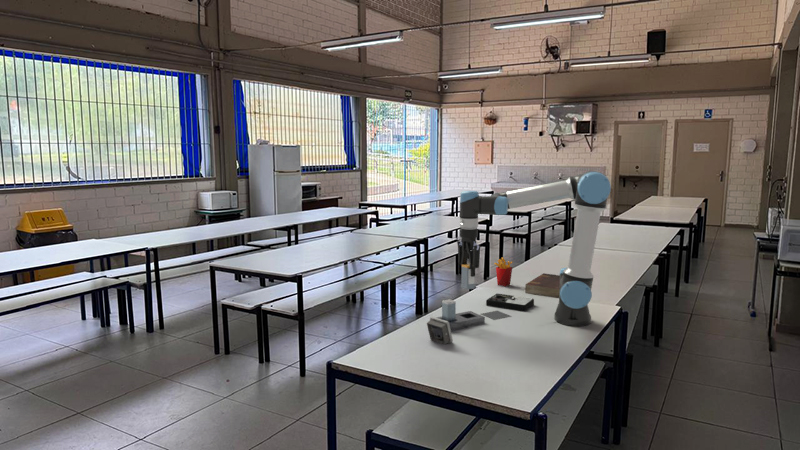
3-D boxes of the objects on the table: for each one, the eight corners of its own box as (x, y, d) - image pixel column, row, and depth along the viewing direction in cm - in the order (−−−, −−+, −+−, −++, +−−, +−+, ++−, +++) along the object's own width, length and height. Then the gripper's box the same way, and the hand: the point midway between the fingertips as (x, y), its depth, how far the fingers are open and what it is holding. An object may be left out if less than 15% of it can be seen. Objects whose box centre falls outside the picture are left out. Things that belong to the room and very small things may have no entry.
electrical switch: (453, 342, 206) (451, 320, 204) (444, 347, 202) (442, 324, 200) (435, 337, 212) (433, 314, 210) (426, 341, 209) (424, 319, 207)
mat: (512, 317, 236) (512, 316, 236) (494, 320, 231) (494, 319, 231) (497, 311, 245) (497, 310, 245) (479, 314, 240) (479, 313, 240)
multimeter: (496, 300, 264) (496, 290, 263) (534, 306, 254) (534, 295, 253) (485, 307, 253) (485, 296, 252) (525, 313, 243) (525, 302, 242)
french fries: (512, 284, 292) (513, 257, 290) (504, 287, 286) (504, 260, 284) (498, 282, 298) (499, 255, 296) (490, 285, 292) (490, 258, 290)
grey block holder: (484, 323, 227) (484, 298, 226) (445, 331, 218) (445, 305, 216) (470, 317, 236) (470, 293, 234) (432, 325, 226) (432, 299, 225)
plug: (474, 288, 226) (475, 265, 225) (467, 289, 225) (467, 266, 223) (469, 286, 230) (469, 263, 228) (461, 287, 228) (461, 264, 227)
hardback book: (561, 298, 266) (562, 289, 265) (525, 293, 276) (525, 284, 275) (577, 286, 290) (577, 277, 289) (543, 281, 300) (543, 273, 299)
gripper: (449, 226, 229) (449, 279, 232) (474, 231, 214) (473, 288, 218) (464, 224, 233) (463, 277, 236) (488, 229, 218) (487, 285, 221)
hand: (468, 282), depth 227 cm, fingers closed on plug, 4 cm apart
